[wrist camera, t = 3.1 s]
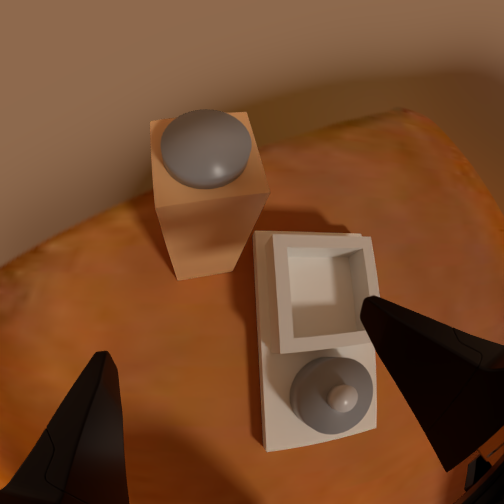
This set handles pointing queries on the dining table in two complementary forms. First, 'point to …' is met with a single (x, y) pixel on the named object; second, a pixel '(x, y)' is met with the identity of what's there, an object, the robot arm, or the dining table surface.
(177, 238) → the block
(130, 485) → the dining table surface
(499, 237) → the dining table surface
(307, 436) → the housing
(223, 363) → the dining table surface
